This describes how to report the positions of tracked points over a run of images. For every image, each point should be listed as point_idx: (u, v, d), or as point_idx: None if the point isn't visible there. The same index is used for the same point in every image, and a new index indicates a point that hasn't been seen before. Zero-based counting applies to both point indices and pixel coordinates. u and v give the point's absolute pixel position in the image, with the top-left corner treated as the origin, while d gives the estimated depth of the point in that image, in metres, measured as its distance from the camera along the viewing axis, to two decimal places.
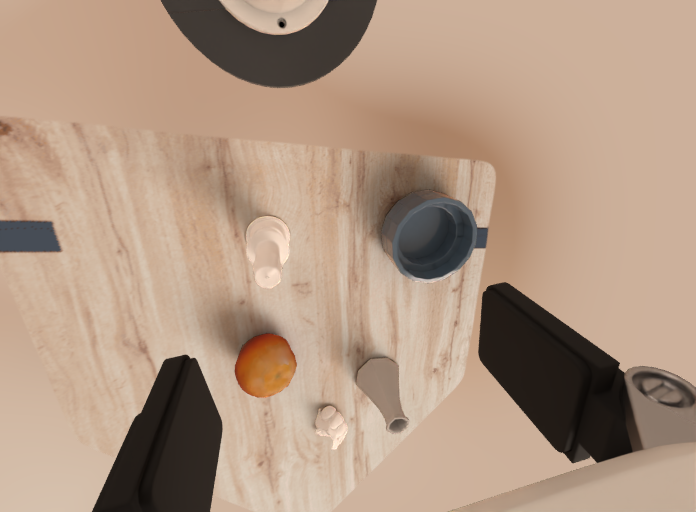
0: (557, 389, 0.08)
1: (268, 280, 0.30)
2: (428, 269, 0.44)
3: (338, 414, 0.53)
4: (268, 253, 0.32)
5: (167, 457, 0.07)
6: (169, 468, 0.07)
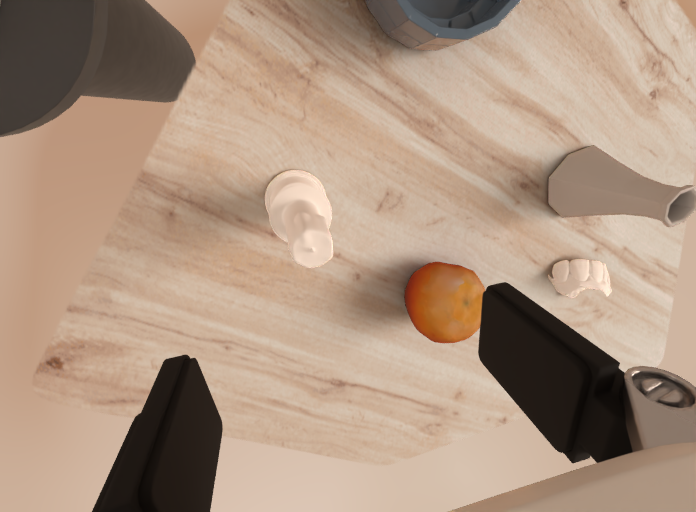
0: (557, 389, 0.08)
1: (318, 251, 0.18)
2: None
3: (575, 261, 0.37)
4: (290, 222, 0.20)
5: (167, 457, 0.07)
6: (169, 468, 0.07)
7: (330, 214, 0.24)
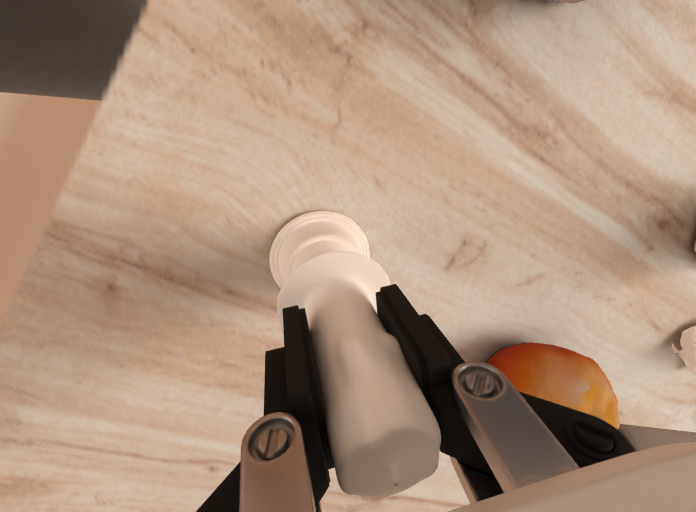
0: None
1: (405, 465, 0.07)
2: None
3: None
4: (327, 356, 0.09)
5: (315, 373, 0.08)
6: None
7: None
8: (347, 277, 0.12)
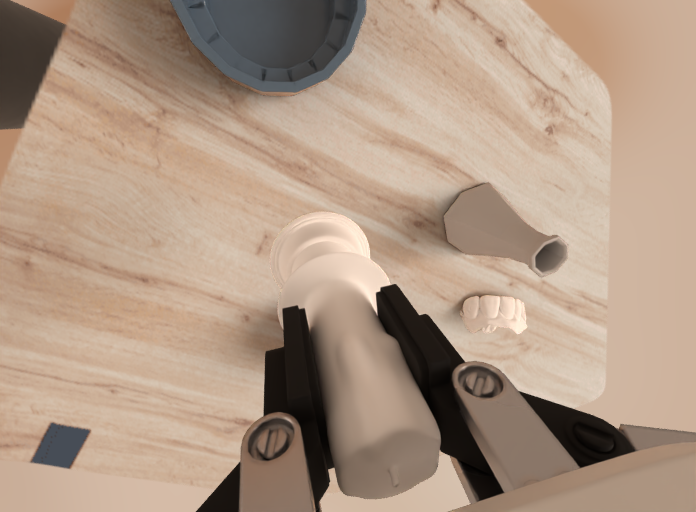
0: None
1: (404, 467, 0.07)
2: (341, 33, 0.22)
3: (485, 298, 0.36)
4: (327, 358, 0.09)
5: (315, 373, 0.08)
6: (317, 381, 0.08)
7: None
8: (347, 278, 0.12)
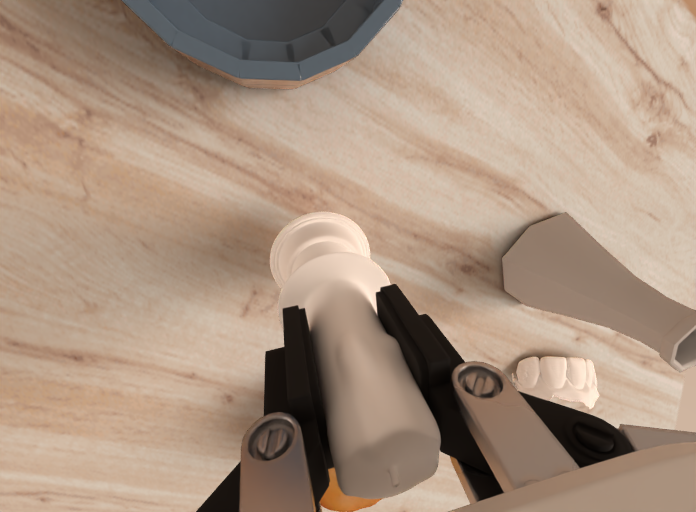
0: None
1: (404, 467, 0.07)
2: None
3: (547, 360, 0.27)
4: (327, 358, 0.09)
5: (316, 373, 0.08)
6: None
7: None
8: (347, 278, 0.12)
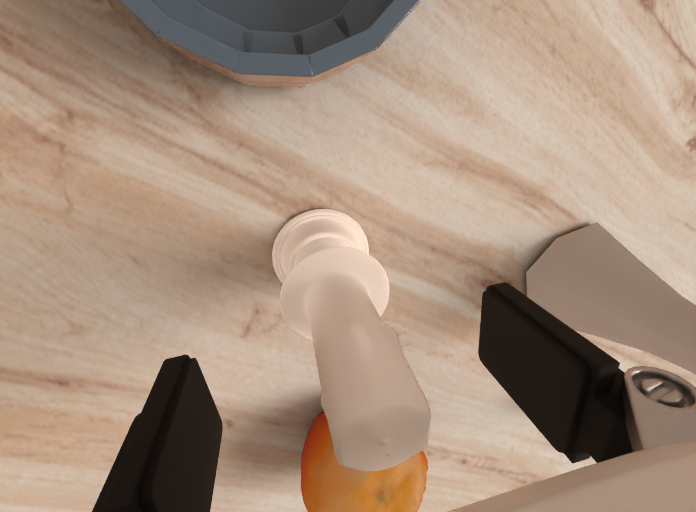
0: (557, 389, 0.08)
1: (397, 440, 0.08)
2: None
3: None
4: (326, 343, 0.10)
5: (167, 457, 0.07)
6: (169, 468, 0.07)
7: (386, 293, 0.14)
8: (346, 271, 0.13)
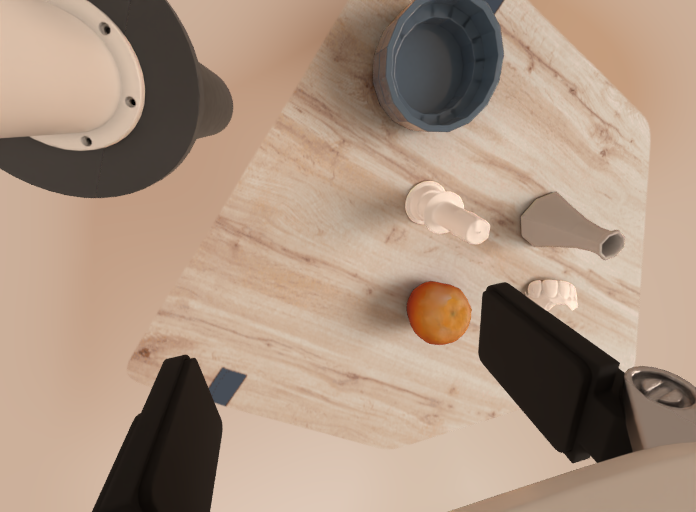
0: (557, 389, 0.08)
1: (481, 233, 0.29)
2: (474, 91, 0.32)
3: (546, 281, 0.46)
4: (454, 215, 0.31)
5: (167, 457, 0.07)
6: (169, 468, 0.07)
7: None
8: (449, 201, 0.34)
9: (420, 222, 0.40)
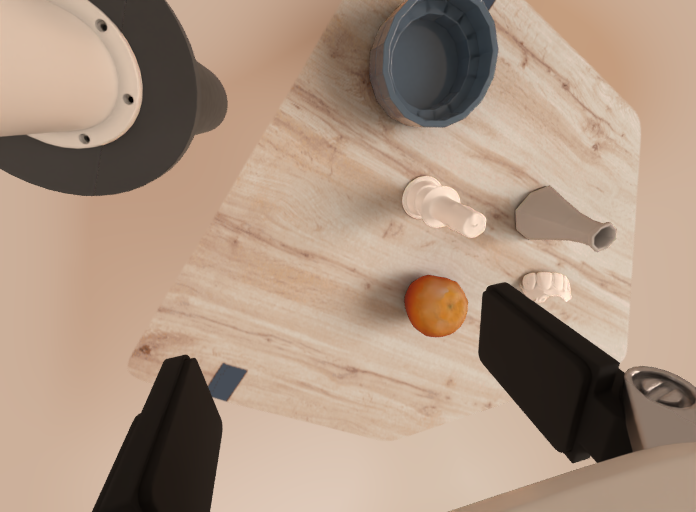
0: (557, 389, 0.08)
1: (477, 226, 0.29)
2: (469, 87, 0.33)
3: (540, 274, 0.47)
4: (450, 209, 0.31)
5: (167, 457, 0.07)
6: (169, 468, 0.07)
7: None
8: (446, 195, 0.35)
9: (417, 217, 0.40)
